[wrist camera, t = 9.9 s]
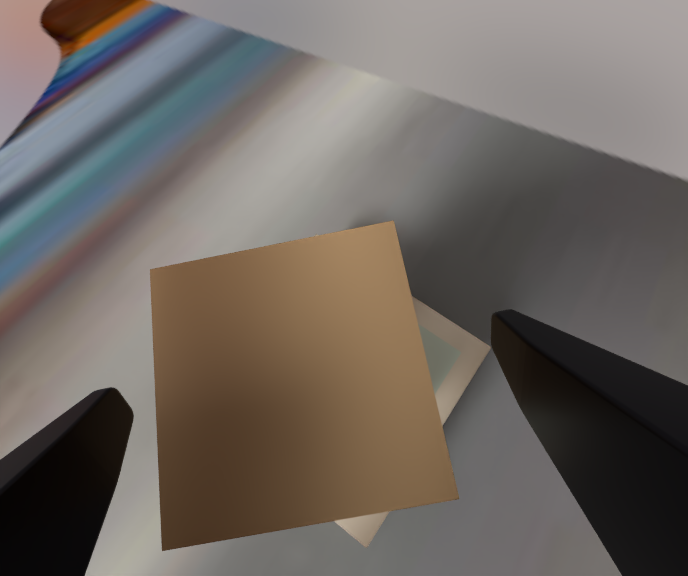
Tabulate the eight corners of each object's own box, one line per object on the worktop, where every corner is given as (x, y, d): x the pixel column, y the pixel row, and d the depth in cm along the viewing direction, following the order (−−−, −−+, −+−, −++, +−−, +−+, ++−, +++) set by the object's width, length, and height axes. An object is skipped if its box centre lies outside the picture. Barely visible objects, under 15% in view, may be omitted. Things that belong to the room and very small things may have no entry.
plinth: (474, 351, 19) (492, 346, 16) (367, 521, 17) (366, 550, 14) (323, 252, 21) (315, 232, 18) (216, 396, 19) (188, 400, 16)
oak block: (381, 310, 17) (394, 220, 7) (404, 421, 15) (459, 498, 6) (277, 330, 17) (150, 269, 7) (292, 442, 16) (162, 550, 6)
